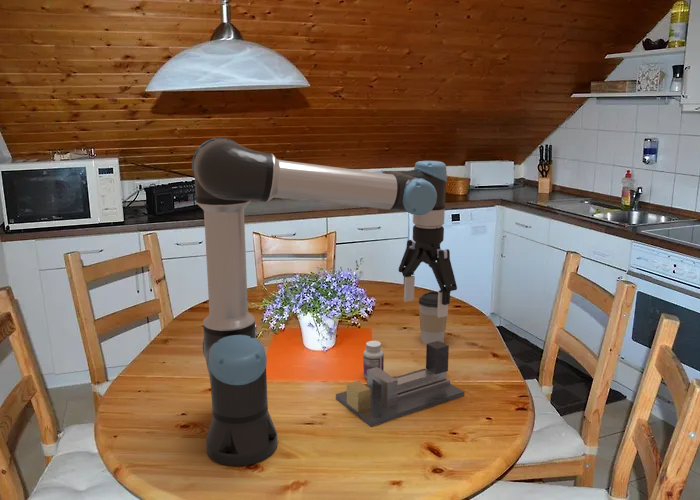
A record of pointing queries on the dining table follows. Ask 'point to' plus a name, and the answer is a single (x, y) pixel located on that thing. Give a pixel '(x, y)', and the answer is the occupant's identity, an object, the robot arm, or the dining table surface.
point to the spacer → (358, 396)
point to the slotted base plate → (399, 397)
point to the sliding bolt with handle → (428, 369)
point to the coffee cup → (431, 319)
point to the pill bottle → (373, 356)
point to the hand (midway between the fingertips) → (425, 308)
